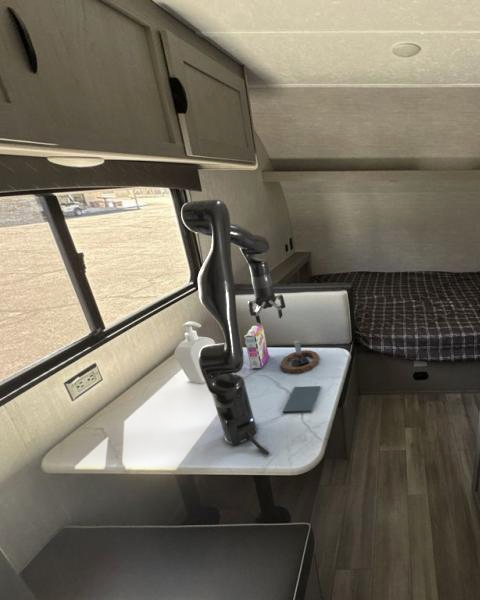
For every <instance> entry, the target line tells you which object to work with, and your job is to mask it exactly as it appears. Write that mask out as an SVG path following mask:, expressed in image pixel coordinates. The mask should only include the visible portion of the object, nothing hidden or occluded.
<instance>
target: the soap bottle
mask: <svg viewBox="0 0 480 600" xmlns="http://www.w3.org/2000/svg"><path fill="white" fill-rule="evenodd" d="M184 326H185V331H186V332H185V333H184V337H185V339H183V340H182V341H181V342H179V344H178V345H177V346H176V348H175V350H174V354H173V356H174V358H175V360H176V361H177V363H178V365H179V366H180V368H181V369H182V372H183V373H184V375H185V376H186V378H187V380H188V382H190V383H195V384H196V383H197V384H199V383H200V384H205V383H206V382H205V380H204V377H203V375H202V372H201V369H200V366H199V352H200V350H201V349H202V347H204V346H205V345H210V344H216V342H215V340H214V339H213V338H211V337H206V336H198V333H197V330H194V329H193V327H196V328H198V329H199V328H201V327H202V325H201V323H198V322H196V321H191V320H189V321H187V322H185V323H183V324H181V325H179V327H180V328H182V327H184Z"/></svg>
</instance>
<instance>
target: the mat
mask: <svg viewBox="0 0 480 600" xmlns="http://www.w3.org/2000/svg"><path fill="white" fill-rule="evenodd" d="M320 389H321V385H312V386H294V388H293V390H292V392H291V394H290V396H289V398H288V400H287V403H286V404H285V407H284V408H283V410H282V412H283V414H293V413H295V414H297V413H312V410H313V408H314V407H315V403H316V400H317V397H318V395H319V392H320Z"/></svg>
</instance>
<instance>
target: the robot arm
mask: <svg viewBox="0 0 480 600" xmlns="http://www.w3.org/2000/svg"><path fill="white" fill-rule="evenodd" d="M180 215H181V220H182V223H183V224H184V226H185V227H186V228H187V229H188V230H189V231H191V232H193V233H195V234H200V235H205V236H208V237H211V247H210V250H209V253H208V255H207V257H206V259H205V261H204V262H203V264H202V266H201V268H200V271H199V272H198V276H197V287H198V297H199V301H200V303H201V305H202V307H204V309H205V310H206V311H207V312H208V313H209V314H210V315H211V317H212V318H213V319H214V320H215V321H216V323H217V324H218V326H219V327H220V329H221V332H222V334H223V337H224V342H220V343H219V342H218V343H215V344H210V345H205V346H204V347H202V349H201V350H200V352H199V366H200V369H201V372H202V375H203V377H204V380H205V382H204V383H205V384H206V385H205V386H206V387H207V390H208V391H209V393H210V394H211V397H212V400H213V403H214V406H215V409H216V412H217V416H218V419H219V422H220V426H221V429H222V432H223V435H224V439H225V442H226V443H227V444H229V445H232V447H235V446H238V445H240V444H243V443H245V442H248V441H251V443H252V444H253V445H254V446H255V447H256V448H257V449H258V450H259V451H261V453H264V454H265V455H266V456H269V454H270V451H268V450H267V449H265V447H263V446H262V445H261V444H260V443H259V442H258V441H257V440H256V439H255V437H254V436H255V435H256V434H257V429H258V427H257V424H256V421H255V417H254V413H253V409H252V407H251V402H250V398H249V394H248V391H247V386H246V382H245V379H244V378H243V376H241V375H238V374H237V373H240V372H241V371H242V370H243V367H244V362H245V356H244V349H243V343H242V336H241V332H240V326H239V321H238V320H239V319H238V313H237V301H236V299H237V298H236V288H235V287H236V286H235V280H234V279H235V278H234V272H233V262H232V249H231V248H232V245H233V246H235V247H237V248H239V250H240V252H241V254H242V255H243V257H244V259H245V261H246V263H247V266H248V269H249V272H250V277H251V286H252V289H253V294H254V298H255V299H254V300H248V301H247V308H248V312H249V315H250V316H251V317H253V316H254V317H255V321H256V323H257V324H260V325H261V324H262V322H261V318H260V313H261V312H262V311H263V310H267V309H269V308H272V307H274V308H276V309H277V310H276V311H277V317H278V318H279V319H282V318H283V311H282V310H283V309H285V308H286V303H285V299H284V296H283V294H282V293H278V294H277V295H275V291H274V286H273V285H274V284H273V281H272V276H271V273H270V267H269V264H268V261H267V260H266V259H263V258H258V257H257V256H256V255H265V254H266V253H268V251H269V250H270V242H269V241H268V239H267V238H266V237H265V236H263V235H262V234H259V233H256V232H251V231H249V230H248V229H246V228H245V227H243V226H241V225H239V224H235V223H232V222H231V216H230V212H229V208H228V207H227V205H226V203H225V202H224V201H222V200H221V199H205V200H193V201H188V202H186V203H184V204H183V205H182V207H181V211H180ZM277 300H278V301H279V302H280V305H279V304H277V303H276V301H277ZM255 304H256V305H257V306H256V309H255V311H254V306H255Z"/></svg>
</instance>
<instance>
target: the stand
mask: <svg viewBox="0 0 480 600" xmlns="http://www.w3.org/2000/svg"><path fill="white" fill-rule="evenodd" d="M293 344H294V350H295V352H296V355H297V358H294V359H292V360H291V362H292V365H293V367H301V366H304V365H307V364H309V363H310V361H309V359H308V358H307V356H302V351H303V350H302V346H301V341H300V340H299V339H297V340H294V341H293Z"/></svg>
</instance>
